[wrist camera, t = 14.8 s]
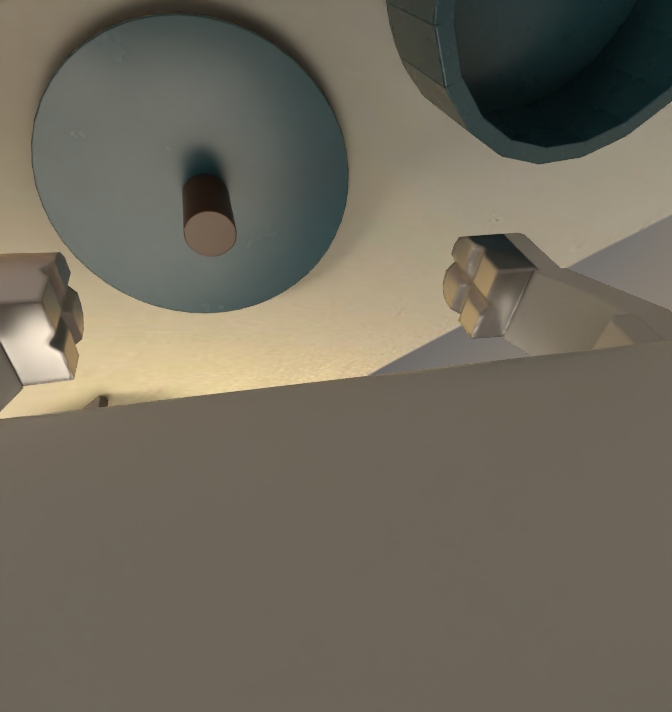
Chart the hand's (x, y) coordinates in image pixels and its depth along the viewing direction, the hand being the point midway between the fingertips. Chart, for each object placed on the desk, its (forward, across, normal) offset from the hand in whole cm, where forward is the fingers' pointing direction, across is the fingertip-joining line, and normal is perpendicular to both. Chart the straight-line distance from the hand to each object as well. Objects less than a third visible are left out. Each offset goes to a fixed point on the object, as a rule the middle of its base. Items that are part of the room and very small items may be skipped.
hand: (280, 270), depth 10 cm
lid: (+16, +1, +6) cm, 17 cm away
